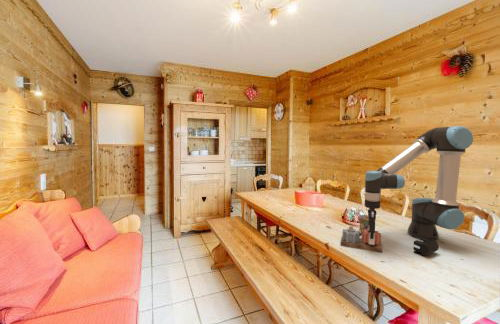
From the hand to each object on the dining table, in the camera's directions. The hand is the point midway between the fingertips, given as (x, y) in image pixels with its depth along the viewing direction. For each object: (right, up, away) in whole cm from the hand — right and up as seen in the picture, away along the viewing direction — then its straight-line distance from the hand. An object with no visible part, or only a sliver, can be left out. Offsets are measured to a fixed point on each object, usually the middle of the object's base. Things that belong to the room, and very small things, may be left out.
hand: (371, 240), depth 127 cm
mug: (+6, -2, +20) cm, 21 cm away
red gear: (0, 0, 0) cm, 0 cm away
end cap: (+24, -4, -8) cm, 25 cm away
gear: (-9, -1, +4) cm, 10 cm away
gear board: (-5, -3, +2) cm, 6 cm away
